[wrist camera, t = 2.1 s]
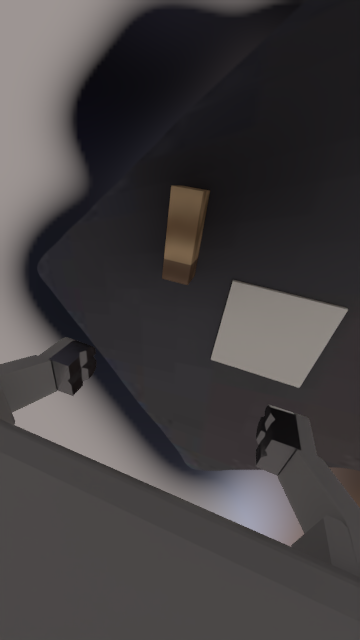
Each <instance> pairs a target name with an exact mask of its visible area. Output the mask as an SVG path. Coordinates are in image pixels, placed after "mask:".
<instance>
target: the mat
mask: <svg viewBox="0 0 360 640" xmlns="http://www.w3.org/2000/svg"><path fill="white" fill-rule="evenodd" d="M347 311H348V309H347V308H346V307H342V306H338V305H334V304H330V303H326V302H322V301H318V300H314V299H310V298H306V297H302V296H298V295H294V294H290V293H286V292H282V291H277V290H273V289H269V288H265V287H261V286H257V285H253V284H249V283H245V282H241V281H237V280H233V282H232V285H231V289H230V293H229V296H228V300H227V303H226V307H225V310H224V314H223V317H222V321H221V324H220V328H219V331H218V335H217V339H216V342H215V346H214V349H213V353H212V356H211V360H214V361H217V362H220V363H223V364H226V365H230V366H233V367H236V368H239V369H242V370H245V371H248V372H251V373H255V374H258V375H261V376H264V377H267V378H270V379H273V380H276V381H280V382H283V383H286V384H289V385H292V386H295V387H298V388H299V387H300V386H301V384H302V383H303V381H304V379H305V378H306V376H307V375H308V373H309V371H310V370H311V368H312V367H313V365H314V363H315V362H316V360H317V359H318V357H319V355H320V354H321V352H322V351H323V349H324V347H325V346H326V344H327V343H328V341H329V340H330V338H331V336H332V335H333V333H334V332H335V330H336V328H337V327H338V325H339V324H340V322H341V320H342V319H343V317H344V316H345V314H346V312H347Z"/></svg>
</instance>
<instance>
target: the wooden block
mask: <svg viewBox="0 0 360 640" xmlns="http://www.w3.org/2000/svg"><path fill="white" fill-rule="evenodd" d="M209 194H210V190H204V189H198V188H193V187H187V186H171V194H170V204H169V214H168V224H167V234H166V244H165V254H164V264H163V274H162V279H166V280H170V281H174V282H178V283H182V284H185V285H188V284H189V283H190V281H191V280H192V279H193V277H194V276H195V271H196V265H197V260H198V254H199V249H200V243H201V238H202V232H203V227H204V221H205V216H206V210H207V205H208V199H209Z"/></svg>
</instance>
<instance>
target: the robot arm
mask: <svg viewBox="0 0 360 640" xmlns="http://www.w3.org/2000/svg"><path fill="white" fill-rule="evenodd" d="M95 354H96V352H95V348H94V347H93V346H90V345H87V344H85V343H82V342H79V341H76V340H73V339H70V338H67V337H66V338H63V339H61V340H60V341H58V342H57V343H56V344H54V345H53V346H51V347H50V348H49V349H47V350H46V351H44V352H43V353H42V354H40V355H39V356H37V355H34V356H30V357H26V358H23V359H19V360H15V361H12V362H8V363H4V364H0V640H360V508H359V507H358V505H357V504H356V503H355V501H354V500H353V499H352V497H351V496H350V495H349V493H348V492H347V491H346V489H345V488H344V487H343V486H342V484H341V483H340V482H339V480H338V479H337V478H336V476H335V475H334V474H333V472H332V471H331V470H330V469H329V467H328V466H327V465H326V463H325V462H324V461H323V459H322V458H320V457H317V452H316V448H315V443H314V439H313V434H312V430H311V425H310V421H309V419H308V417H305V416H302V415H299V414H296V413H293V412H290V411H286V410H283V409H280V408H277V407H274V406H271V405H268V406H267V407H266V409H265V416H264V417H261V419H260V421H259V424H258V427H257V433H256V440H257V442H258V444H259V446H258V447H257V449H256V467H258V468H261V469H263V470H266V471H268V472H270V473H273V474H275V475H277V476H278V479H279V481H280V483H281V485H282V487H283V489H284V491H285V494H286V496H287V498H288V500H289V502H290V504H291V506H292V508H293V510H294V512H295V515H296V517H297V519H298V521H299V523H300V525H301V527H302V529H303V531H304V535H303V536H302V537H301V538H299V539H298V540H297V541H296V542H295V543H294V544H292V547H290V546H287V545H285V544H283V543H281V542H278V541H276V540H274V539H271V538H269V537H267V536H265V535H263V534H260V533H258V532H256V531H253V530H251V529H249V528H247V527H244V526H242V525H240V524H237V523H235V522H233V521H231V520H228V519H226V518H224V517H222V516H219V515H217V514H215V513H213V512H210V511H208V510H206V509H203V508H201V507H199V506H197V505H194V504H192V503H190V502H188V501H185V500H183V499H181V498H179V497H176V496H174V495H172V494H169V493H167V492H165V491H162V490H160V489H158V488H156V487H153V486H151V485H149V484H147V483H144V482H142V481H140V480H137V479H135V478H133V477H131V476H129V475H126V474H124V473H122V472H120V471H117V470H115V469H113V468H111V467H108V466H106V465H104V464H101V463H99V462H97V461H95V460H92V459H90V458H88V457H85V456H83V455H81V454H79V453H76V452H74V451H72V450H70V449H67V448H65V447H63V446H61V445H58V444H56V443H54V442H51V441H49V440H47V439H44V438H42V437H40V436H38V435H36V434H33V433H30V432H29V431H26V430H24V429H22V428H20V427H17V426H15V425H14V424H15V420H14V417H13V415H12V412H14V411H16V410H18V409H20V408H23V407H25V406H27V405H29V404H31V403H33V402H35V401H37V400H39V399H41V398H43V397H46V396H48V395H50V394H52V393H54V392H56V391H57V390H59V391H61V392H64V393H67V394H69V395H72V396H73V395H74V394H75V393H76V392H77V391H78V390H79V389H80V388H81V386H83V381H84V380H87V379H89V378H90V377H91V376H92V375H93V373H94V371H95V369H96V359H95V358H94V357H93V356H94V355H95Z"/></svg>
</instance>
